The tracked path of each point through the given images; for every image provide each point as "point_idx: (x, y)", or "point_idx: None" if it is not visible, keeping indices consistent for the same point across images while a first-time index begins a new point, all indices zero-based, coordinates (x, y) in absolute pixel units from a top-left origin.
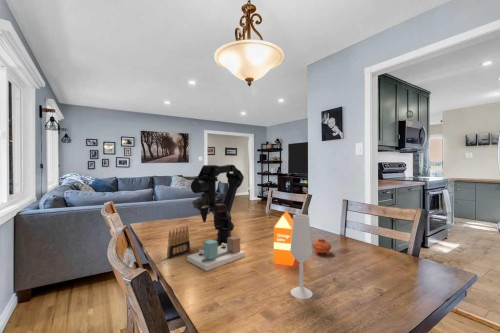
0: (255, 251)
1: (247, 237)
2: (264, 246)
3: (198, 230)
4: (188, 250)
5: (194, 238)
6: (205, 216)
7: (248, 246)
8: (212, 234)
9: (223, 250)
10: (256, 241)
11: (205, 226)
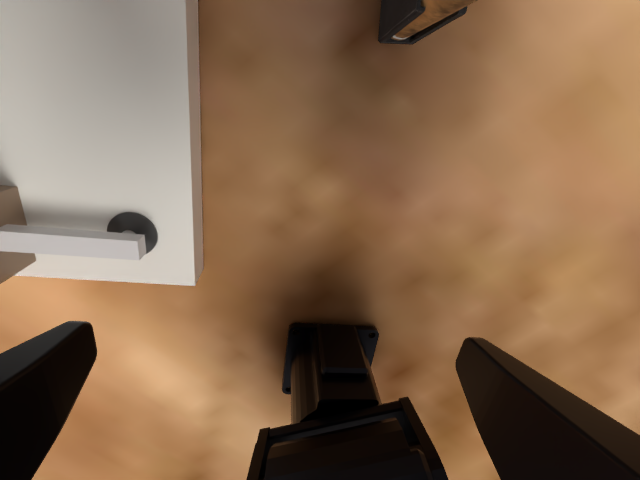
0: None
1: None
2: None
3: (629, 382)
4: (384, 18)
5: (557, 274)
6: (526, 476)
7: (125, 385)
8: None
9: (64, 183)
10: (168, 456)
11: None
